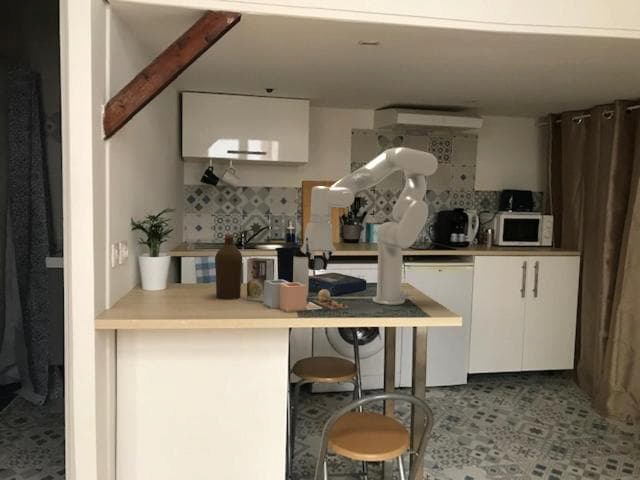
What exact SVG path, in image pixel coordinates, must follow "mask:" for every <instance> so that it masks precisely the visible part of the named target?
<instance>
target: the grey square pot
mask: <svg viewBox="0 0 640 480" xmlns="http://www.w3.org/2000/svg"><path fill="white" fill-rule="evenodd" d="M280 283H291V282H289V281H288V280H285V279H274V280H266V281H264V302H263V305H265V306H266V307H268V308H269V309H280V308H279V290H280Z"/></svg>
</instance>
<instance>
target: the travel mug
mask: <svg viewBox="0 0 640 480" xmlns="http://www.w3.org/2000/svg"><path fill="white" fill-rule="evenodd" d="M306 250H307V249H306ZM307 251H309V250H307ZM292 265H293V267H292V269H293V274H292V283H296V282H298V283H301V284H304V285H306V286H307V299H308V298H309V279H310V277H309V276H310V275H309V274H310V272H309V271H310V269H309V268H308V258H307V256H306V255H305V254H304V253H303V252H302V251H301V250H300V249H294V250H293V264H292Z"/></svg>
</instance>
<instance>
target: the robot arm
mask: <svg viewBox="0 0 640 480" xmlns="http://www.w3.org/2000/svg"><path fill="white" fill-rule="evenodd" d="M438 163H439V162H438V159H437V157H436V156H435V155H434V154H433V153H429V152H426V151H422V150H418V149H412V148H409V147H404V146H402V147H401V146H400V147H399V146H398V147H393V148H388V149H386V150H384V151H383V152H381V153H380V154H378V155H377V156H376V157H374V158H373V159H371V160H369V162H368V163H366V164H364V165H363V166H361V167H360V168H358V169H356V170H355V171H352V172H351V173H349V174H347V175H346V176H344V177H342V178H341V179H338V181H336V182H335V183H334V184H332V185H331V186H324V185H323V186H321V185H315V186H313V187H312V188H311V195H310V196H311V197H310V199H311V200H310V213H309V214H310V215H309V222H307V224H306V228H305V232H304V239H303V245H302V246H301V247H300V248H299V250H301V251H302V252H303V253H304V254H305V255H306V256H307V258H308V268H309V271H310V270H311V271H314V261H315V260H314V259H315V258H314V257H315V253H316V252H321V253H322V254H321V255H322V257H321V259H322V260H323V262H324V267H323V268H322V269H321V270H325V271H327V267H328V260H329V258H330V257H331V256H332V255H333V254H334V253H335V252H336V251H337V249H336V247H335V245H334V234H333V225H332V222H333V221H334V217H332V207H333V208H343V209H344V208H348V207H350V206H351V205H353V204H354V201H355V194H356V193H357V192H360V191H363V190H367V189H370V188H373V187H374V186H376V185H378V184H379V183H380V182H381V181H383V180H384V179H386V178H387V177H388V176H390V175H391V174H392V173H394V172H395V171H401V170H402V171H403V174H404V177H405V184H404V188H403V189H402V192H401V193H400V195H399V196H398V198H397V200H396V202H395V203H394V206H393V208H392V213H391V214H392V216H393V219H395V220H396V221H387V222H384V223H382V224H381V225H380V226H379V227H378V228H377V231H376V243H377V252H378V253H377V254H378V255H377V276H376V277H377V278H376V280H377V281H376V296H374V297H372V302H373V303H374V304H375V303H376V304H380V305H387V306H389V305H390V306H391V305H392V306H393V305H398V306H399V305H404V303H405V302H406V300H405V299H404V297H410V296H411V295H412V292H411V291H404V290H402V277H403V251H402V249H403V250H404V249H408V248H410V247H412V245H413V244H414V243H415V241H416V240H417V239H418V236H419V235H420V233H421V231H422V230H423V227H424V225H426V224H425V223H426V221H427V220H428V217H429V207H428V204H427V203H426V202H425V201H424V200H423V199H424V197H425V195H426V192H427V181H426V178H425V177H426V176H431V175H433V174H434V173H436V171H437V170H438V167H439V164H438ZM306 249H307V250H309V251H307V250H306Z"/></svg>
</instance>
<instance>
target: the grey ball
mask: <svg viewBox="0 0 640 480" xmlns="http://www.w3.org/2000/svg"><path fill="white" fill-rule="evenodd" d="M313 259H314V260H315V261H314V270H315V271H317V272H318V271H321V270H323V269H322V268H323V267H324V262H323V260H322V258H321V257H316V258H313ZM314 270H313V271H314Z"/></svg>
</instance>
